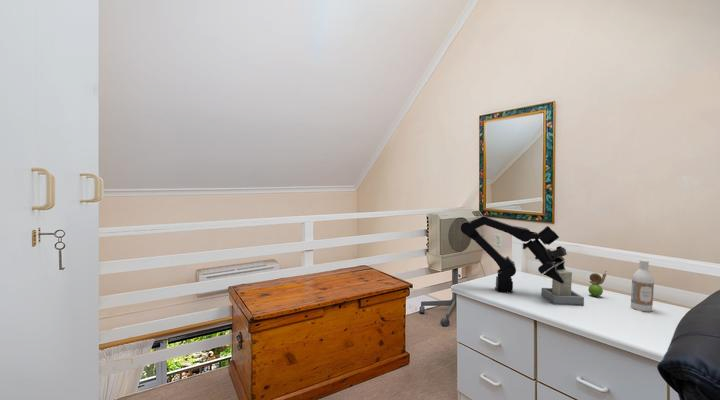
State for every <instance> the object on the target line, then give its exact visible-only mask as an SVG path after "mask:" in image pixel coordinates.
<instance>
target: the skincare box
mask: <svg viewBox="0 0 720 400" xmlns="http://www.w3.org/2000/svg"><path fill="white" fill-rule="evenodd" d="M556 271H557V272H558V274H559V275H560V277H561V278H562V279H563V281H564V283H560V282H558V281H556V280H554V279H552V278H551V279H552V281H551V283H552V284H551V288H552V294H554V295H555V296H571V290H572V282H573V281H572V280H573V279H572V278H573V272H572V271H570V270H567V269H566V270H556Z"/></svg>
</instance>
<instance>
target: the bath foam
mask: <svg viewBox="0 0 720 400" xmlns="http://www.w3.org/2000/svg"><path fill="white" fill-rule="evenodd" d="M649 263H650V261H649V260H646V259H639V263H638V264H639V265H638V269H637V270H635V272H634V273H633V275H632V279H631V295H630V307H631V308H632V309H633V310H636V311H640V312H648V313H649V312H652V311H653V303H654V288H655V279H654V277H653V275H652V273H651V272H650V270H649Z"/></svg>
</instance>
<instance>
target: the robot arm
mask: <svg viewBox="0 0 720 400" xmlns="http://www.w3.org/2000/svg"><path fill="white" fill-rule="evenodd" d="M482 226H488V227H490V228H493V229H495V230H497V231H502V232H504V233H506V234H509V235H511V236H512V237H514V238H516V239H517V240H519V241H521V242H522V249H523V250H527V249H528V250H529V251H530V252H531V253H532V255H534V256H535V257H534V259H535V261H536V260H538V262H540V263H541V265H540V266H538V268H537V271H538V272H539V273H540V275H543V276H546V277H548V278H550V279H554V280H556V281H558V282H560V283H564V281H563V279H562V278H561V277H560V275H559V274H558V272H557V271H556V270H567V269H566V268H565V267H566V266H565V263H566V261H565V260H566V259H565V258H564V256H566V255H568V254H567V249H566V248H565V247H563V246H562V245H559V246H556V248H555V249H554V250H551V249H549V248H546V247H545V246H544V245H548V246H550V245H551V244H552V243H554V242H556V241H557V240H558V239H559V238H560V236H559V235H558V234H557V233H556V232H555V231H554V230H552V228H551V227H550V226H549V225H547V226H545V227H544V228H543V229H542V230H540V231H539V232H536V231H531V230H530V229H529V228H527V227H523V226H517V225H511V224H509V223H505V222H503V221H500V220H497V219H494V218H491V217H488V216H487V215H482V216H480V217H478V218H476V219H473V220H471V221H470V220H466V221H463V222H462V224H461V226H460V231H461V232H462V233H463V235H466V237H468V238H470V239H471V240H473V241H474V242H475V243H476V244H477V245H478V246H479V247H480V248H481V249H483V250H484V252H485V253H486V254H488V256H489V257H490V258H492V260H494V262H495V263H496V264H497V266H498V268H499V269H498V270H497V275H496V277H495V287H494V289H495V290H496V291H497V293H509V294H510V293H511V294H512V293H514V292H513V289H514V281H513V278H512V277H514V276H515V275H516V274H517V268H516V264H515V261H513V260H511V258H510V257H509V256H508V255H507V256H506V257H505V256H503V255H502V254H500V253H499V251H498V250H497V249H496V248H494V247H493V245H492V244H491V243H489V241H488V240H486V239H485V238H484V236H482V235H481V233H480V232H479V230H478V228H481V227H482Z"/></svg>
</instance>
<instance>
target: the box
mask: <svg viewBox="0 0 720 400" xmlns="http://www.w3.org/2000/svg"><path fill="white" fill-rule="evenodd" d="M540 293H541V295H540V296H542V297H543V298H544V299H545V300H547V301H548V302H550V303H551V304H552V305H555V306H578V307H579V306H580V307H581V306H582V307H583V306H585V297H584V296H582V295H580V294H579V293H577V292H575V291H574V290H572V289H571V296H555V295H554V294H552V287H541V292H540Z"/></svg>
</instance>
